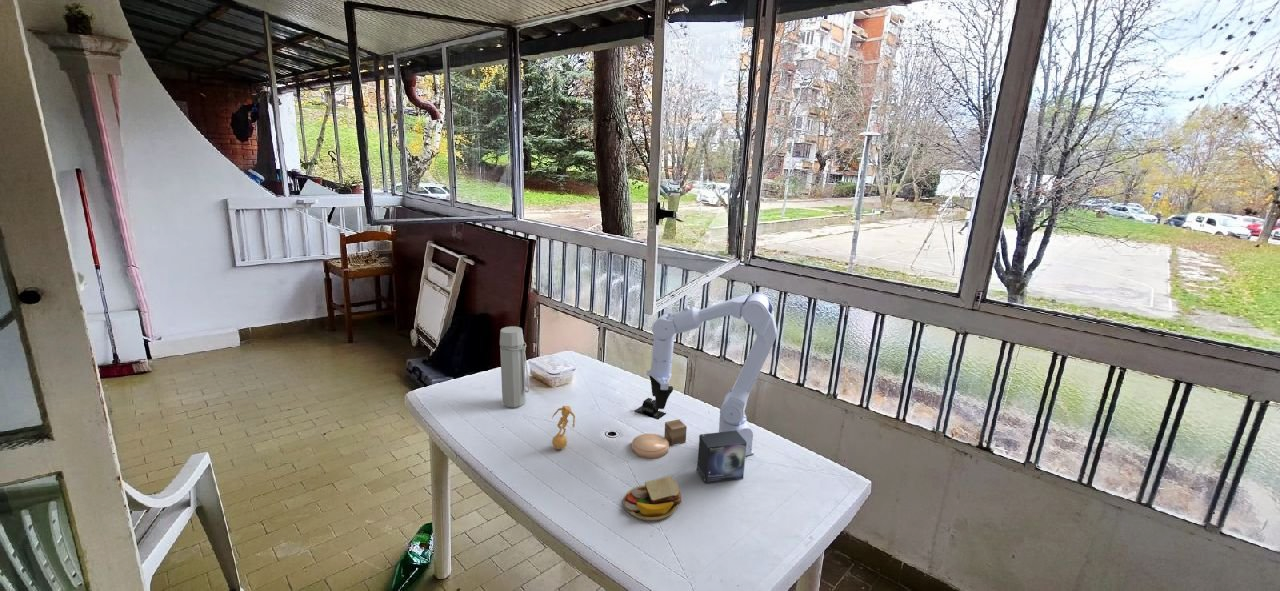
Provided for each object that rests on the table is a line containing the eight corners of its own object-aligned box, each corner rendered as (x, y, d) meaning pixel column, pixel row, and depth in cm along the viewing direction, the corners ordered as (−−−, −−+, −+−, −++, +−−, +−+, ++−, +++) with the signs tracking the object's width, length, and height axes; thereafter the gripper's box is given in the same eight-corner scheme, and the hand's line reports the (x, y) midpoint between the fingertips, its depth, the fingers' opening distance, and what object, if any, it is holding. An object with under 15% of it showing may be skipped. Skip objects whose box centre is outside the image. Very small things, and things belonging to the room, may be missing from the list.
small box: (705, 485, 133) (707, 447, 130) (695, 470, 139) (697, 433, 136) (744, 479, 136) (747, 442, 133) (733, 465, 142) (736, 429, 139)
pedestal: (674, 453, 146) (675, 447, 146) (641, 461, 142) (641, 454, 142) (658, 436, 155) (658, 430, 155) (626, 443, 151) (626, 436, 151)
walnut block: (685, 442, 153) (686, 426, 151) (671, 445, 151) (672, 429, 149) (678, 434, 156) (678, 419, 155) (664, 437, 155) (664, 422, 153)
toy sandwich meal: (621, 490, 131) (621, 473, 129) (676, 488, 132) (677, 471, 131) (625, 525, 119) (625, 506, 117) (686, 522, 120) (687, 503, 119)
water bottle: (497, 407, 170) (493, 332, 164) (510, 397, 177) (507, 324, 171) (523, 412, 167) (521, 335, 161) (535, 401, 175) (533, 327, 168)
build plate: (673, 415, 169) (673, 402, 168) (660, 424, 163) (661, 410, 162) (640, 404, 176) (640, 391, 174) (627, 413, 170) (627, 399, 169)
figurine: (543, 446, 149) (542, 406, 146) (559, 437, 153) (558, 398, 150) (565, 456, 144) (565, 415, 141) (581, 447, 148) (580, 407, 145)
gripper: (644, 347, 156) (641, 390, 160) (651, 368, 143) (647, 414, 146) (668, 348, 157) (664, 390, 161) (677, 368, 144) (673, 414, 147)
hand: (658, 402), depth 154 cm, fingers open, 7 cm apart
